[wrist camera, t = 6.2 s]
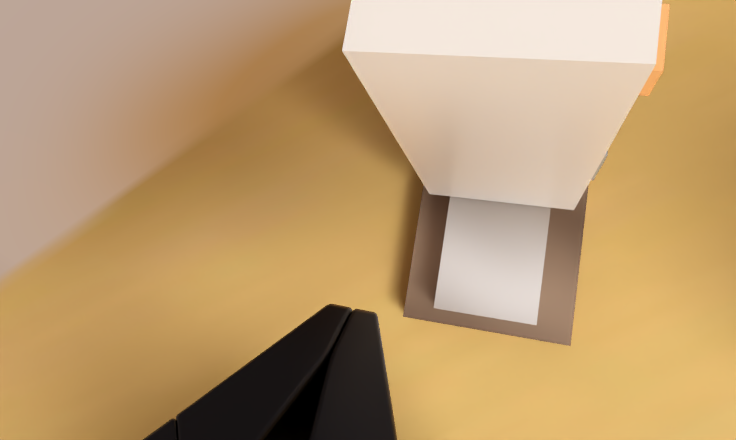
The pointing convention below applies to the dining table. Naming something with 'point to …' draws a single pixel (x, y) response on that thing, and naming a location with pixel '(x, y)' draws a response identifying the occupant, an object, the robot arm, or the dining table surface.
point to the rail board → (496, 266)
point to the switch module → (506, 88)
